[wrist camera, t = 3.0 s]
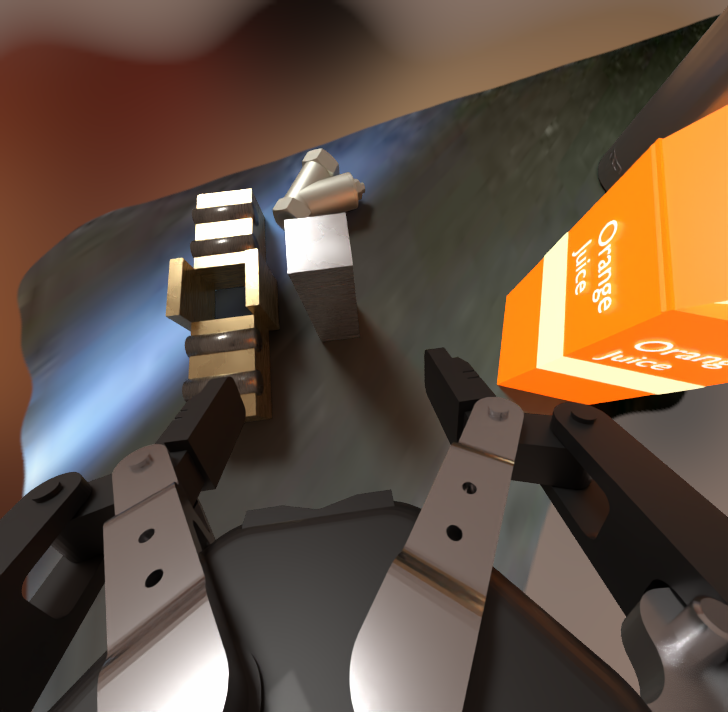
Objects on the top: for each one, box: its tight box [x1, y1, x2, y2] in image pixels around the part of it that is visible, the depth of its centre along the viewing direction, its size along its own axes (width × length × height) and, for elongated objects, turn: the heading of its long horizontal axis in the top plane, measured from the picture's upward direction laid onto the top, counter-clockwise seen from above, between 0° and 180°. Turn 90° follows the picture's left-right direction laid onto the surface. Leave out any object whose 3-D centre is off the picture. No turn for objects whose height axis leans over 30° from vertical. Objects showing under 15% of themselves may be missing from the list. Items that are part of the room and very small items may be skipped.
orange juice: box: [497, 105, 728, 405], centre depth 15 cm, size 8×9×20 cm
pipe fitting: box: [273, 149, 365, 231], centre depth 28 cm, size 8×4×7 cm
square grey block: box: [285, 213, 360, 342], centre depth 21 cm, size 4×4×11 cm
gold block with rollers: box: [166, 189, 279, 422], centre depth 24 cm, size 7×21×5 cm, turn 8°
